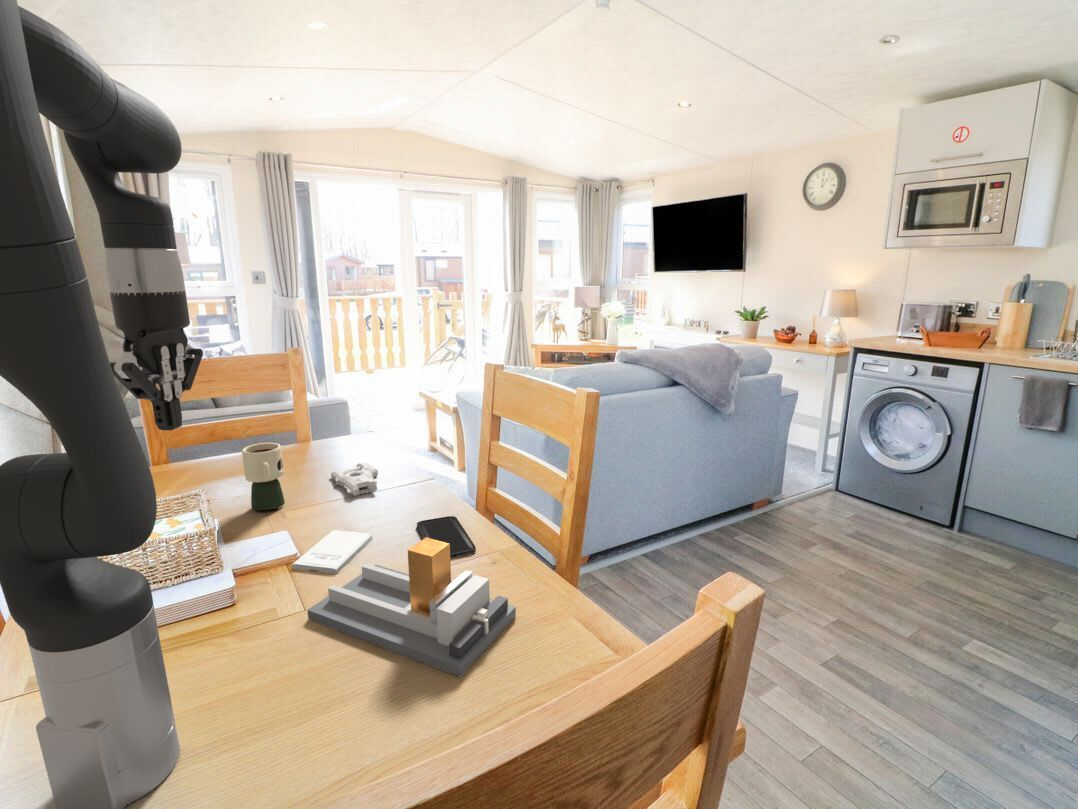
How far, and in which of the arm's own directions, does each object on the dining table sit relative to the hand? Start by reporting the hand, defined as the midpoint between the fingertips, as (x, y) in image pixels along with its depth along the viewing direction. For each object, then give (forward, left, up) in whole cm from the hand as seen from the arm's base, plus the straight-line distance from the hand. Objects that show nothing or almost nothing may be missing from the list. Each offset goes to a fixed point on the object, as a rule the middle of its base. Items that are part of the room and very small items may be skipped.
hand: (170, 428), depth 72 cm
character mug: (+39, +14, -29) cm, 51 cm away
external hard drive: (+23, -8, -30) cm, 38 cm away
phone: (+30, -26, -30) cm, 50 cm away
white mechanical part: (+54, +1, -30) cm, 62 cm away
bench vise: (+6, -28, -29) cm, 41 cm away
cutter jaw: (+5, -32, -27) cm, 42 cm away
